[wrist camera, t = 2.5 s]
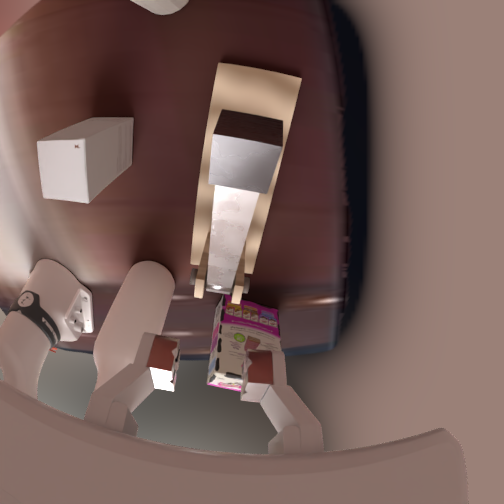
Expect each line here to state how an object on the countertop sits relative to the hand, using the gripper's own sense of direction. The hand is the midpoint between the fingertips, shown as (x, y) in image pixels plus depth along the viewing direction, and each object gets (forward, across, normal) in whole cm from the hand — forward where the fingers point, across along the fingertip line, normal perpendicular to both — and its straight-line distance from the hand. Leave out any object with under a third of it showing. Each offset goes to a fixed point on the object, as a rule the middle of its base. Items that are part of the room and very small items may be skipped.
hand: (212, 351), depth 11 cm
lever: (+18, 0, +2) cm, 18 cm away
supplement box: (+29, +19, 0) cm, 35 cm away
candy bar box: (+29, -6, +28) cm, 41 cm away
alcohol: (+29, +12, +24) cm, 40 cm away
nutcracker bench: (+29, 0, +3) cm, 29 cm away
